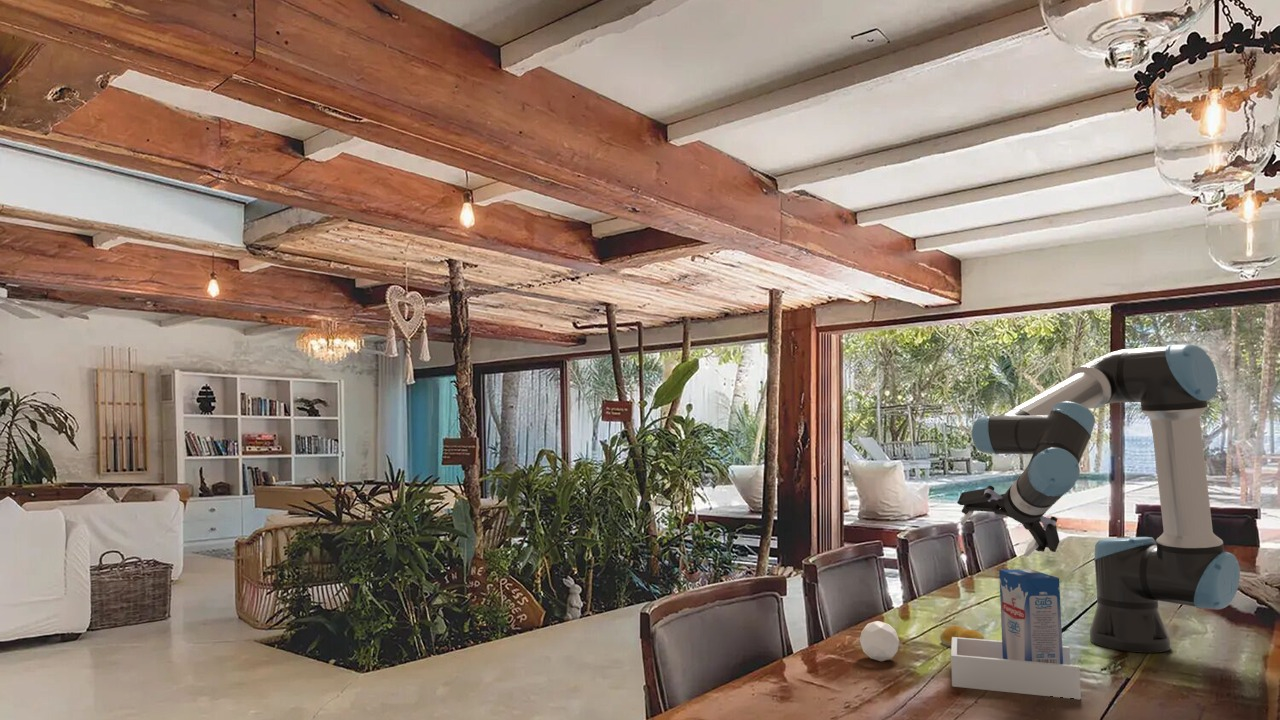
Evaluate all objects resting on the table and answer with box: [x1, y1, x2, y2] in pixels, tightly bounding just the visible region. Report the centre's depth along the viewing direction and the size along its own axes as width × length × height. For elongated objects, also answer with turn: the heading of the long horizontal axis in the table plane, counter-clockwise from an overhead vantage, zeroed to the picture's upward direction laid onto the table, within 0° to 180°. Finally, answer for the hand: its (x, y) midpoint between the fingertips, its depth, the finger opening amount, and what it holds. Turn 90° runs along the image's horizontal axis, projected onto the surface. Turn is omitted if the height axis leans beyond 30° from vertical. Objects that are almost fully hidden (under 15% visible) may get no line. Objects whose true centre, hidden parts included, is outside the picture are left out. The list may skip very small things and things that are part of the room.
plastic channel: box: [950, 637, 1082, 700], centre depth 154 cm, size 21×15×6 cm
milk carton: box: [998, 568, 1063, 664], centre depth 153 cm, size 10×6×20 cm, turn 4°
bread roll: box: [939, 625, 986, 647], centre depth 181 cm, size 8×9×4 cm
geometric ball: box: [859, 620, 900, 662], centre depth 169 cm, size 8×8×8 cm
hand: (995, 534), depth 174 cm, fingers open, 13 cm apart
